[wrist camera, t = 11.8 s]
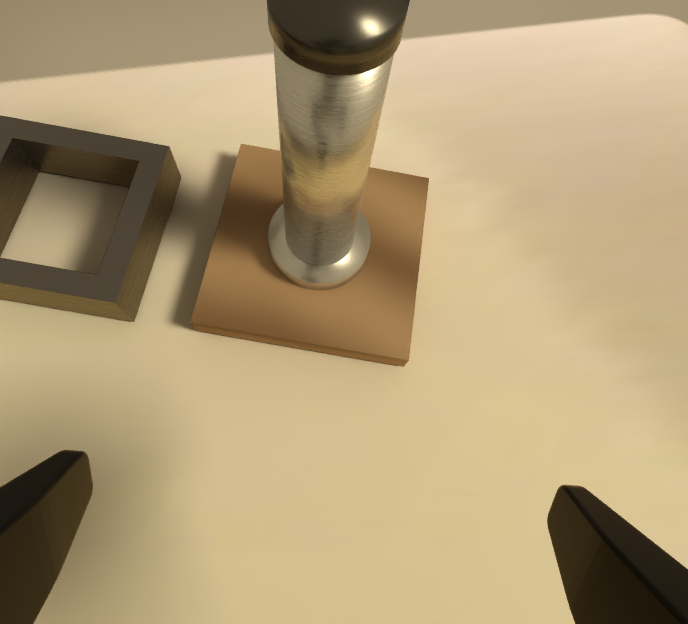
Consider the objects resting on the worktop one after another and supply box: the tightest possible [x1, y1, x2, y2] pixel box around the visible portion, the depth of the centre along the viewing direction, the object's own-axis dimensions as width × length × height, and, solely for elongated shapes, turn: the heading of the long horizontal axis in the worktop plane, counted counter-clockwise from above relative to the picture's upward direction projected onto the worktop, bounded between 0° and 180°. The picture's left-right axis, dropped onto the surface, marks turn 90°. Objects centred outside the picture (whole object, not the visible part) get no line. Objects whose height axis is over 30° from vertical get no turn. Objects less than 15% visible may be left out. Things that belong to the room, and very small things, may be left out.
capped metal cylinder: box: [267, 0, 410, 291], centre depth 17 cm, size 5×5×13 cm
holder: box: [0, 116, 181, 322], centre depth 23 cm, size 8×8×2 cm
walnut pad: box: [190, 144, 429, 366], centre depth 24 cm, size 10×10×1 cm
